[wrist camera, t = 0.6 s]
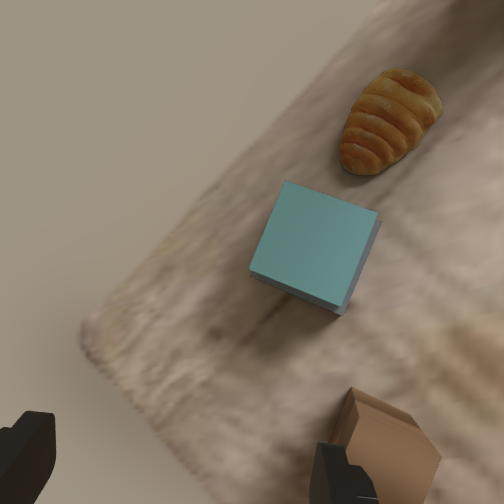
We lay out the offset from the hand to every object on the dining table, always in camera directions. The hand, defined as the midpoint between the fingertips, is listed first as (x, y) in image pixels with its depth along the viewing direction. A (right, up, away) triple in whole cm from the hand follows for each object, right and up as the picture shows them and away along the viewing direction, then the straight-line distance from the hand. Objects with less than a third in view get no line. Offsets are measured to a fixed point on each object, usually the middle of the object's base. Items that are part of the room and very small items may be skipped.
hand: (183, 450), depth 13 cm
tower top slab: (+7, +6, +21) cm, 23 cm away
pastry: (+14, +17, +25) cm, 34 cm away
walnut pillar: (+12, -9, +22) cm, 26 cm away
